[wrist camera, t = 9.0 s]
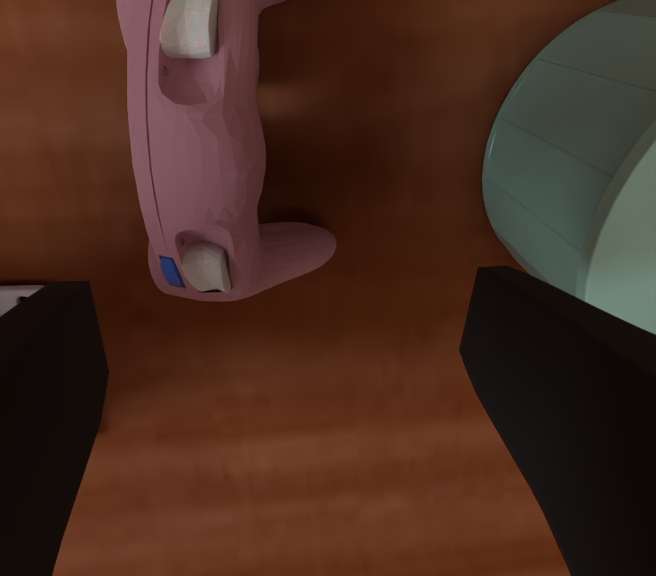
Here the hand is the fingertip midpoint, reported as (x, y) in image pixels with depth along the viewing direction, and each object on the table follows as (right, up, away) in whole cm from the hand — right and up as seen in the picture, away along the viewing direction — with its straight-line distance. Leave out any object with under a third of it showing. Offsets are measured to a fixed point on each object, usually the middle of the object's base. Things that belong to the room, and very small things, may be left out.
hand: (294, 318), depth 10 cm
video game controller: (-2, +6, +7) cm, 10 cm away
